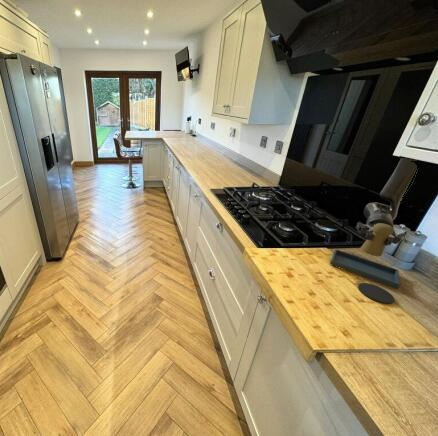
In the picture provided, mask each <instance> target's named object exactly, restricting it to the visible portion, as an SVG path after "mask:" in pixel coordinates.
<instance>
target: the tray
mask: <svg viewBox="0 0 438 436" xmlns="http://www.w3.org/2000/svg"><path fill="white" fill-rule="evenodd" d="M330 264H332V265H331V266H333V265H334V266H333V267H335V266H337V267H336V268H338V267H340V268H339V269H341V268H343V269H342V270H344V269H345V270H344V271H346V270H348V271H347V272H349V271H350V272H349V273H352V272H353V273H352V274H354V273H355V274H354V275H358V276H360V277H363V278H365V279H369V280H371V281H374V282H376V283H379V284H381V285H385V286H387V287H391V288H393V289H395V290H398V288H399V287H400V285H401V283H400V282H401V281H400V273H399V269H398V268H395V267H392V266H388V265H385V264H383V263H380V262H376V261H373V260H371V259H367V258H364V257H361V256H359V255H355V254H353V253H349V252H346V251H343V250H340V249H338V248H335V249H334V251H333V253H332V255H331V259H330V262H329V265H330Z"/></svg>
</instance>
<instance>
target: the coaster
mask: <svg viewBox="0 0 438 436" xmlns="http://www.w3.org/2000/svg"><path fill="white" fill-rule="evenodd" d="M357 289H358V291H359V292H360V293H361V294H362V295H363V296H365V297H366V298H368V299H370V300H372V301H374V302H376V303H379V304H383V305H392V304H393V303H394V302H395V297H394V296H393V295H392V294H391V293H390V292H389V291H387V290H386V289H385V288H382V287H380V286H378V285H376V284H374V283H370V282H360V283H359V284H358V285H357Z"/></svg>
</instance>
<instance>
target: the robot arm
mask: <svg viewBox="0 0 438 436" xmlns="http://www.w3.org/2000/svg"><path fill="white" fill-rule="evenodd" d="M411 161H417V160H412V159H407V158H400V160H399V162H398V164H397V165H396V167H395V169H394V171H393V173H392V174H391V175H390V176H389V179H388V180H387V181H386V183H385V185H384V187H383V188H382V189H381V191H380V193H379V197H380V198H382V199H384V200H385V201H388V202H389V203H390V204H389V205H387V204H384V203H380V202H376V201H375V202H374V201H372V202H369V203H367V204H366V205H365V207H364V208H363V216H364V217H365V218H366V222H365V224H364V223H363V222H361V221H358V222H357V223H356V226H355V229H356V230H357V232H358V233H359V234H360V235H365V239H366V240H371V238H372V236H373V227H374V226H375V225H376V224H378V223H383V224H387V225H390V226H392V227H393V228H394V220H395V219H396V218H397V215H398V211H399V207H400V204H401V202H402V200H403V198H402V197H404V196H405V195H404V193H405V192H406V190H407V188H408V186H409V184H410V182H411V180H412V178H413V176H414V174H415V172H416V170H417V165H416V164H415V163H414V162H411ZM417 171H418V170H417ZM416 173H417V172H416ZM407 191H408V190H407ZM406 193H407V192H406ZM406 193H405V194H406ZM403 195H404V196H403ZM400 201H401V202H400ZM405 236H406V234H405V233H402V232H401V233H396V231H395V230H394V232H393V234H392V235H390V236H389V237H388V238H387V240H386V242H385V247H386V246H387V247H388V246H391V245H392V244H394V245H397V244H399V243H400V242H403V240H404V239H405Z"/></svg>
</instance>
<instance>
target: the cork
mask: <svg viewBox="0 0 438 436" xmlns="http://www.w3.org/2000/svg"><path fill="white" fill-rule="evenodd" d="M394 231H395V229H394V226H393V227H392V226H390V225H387V224H383V223H378V224H376V225H375V226H374V227H373V236H372V238H371V240H367V239H366V240H365V241H364V242H363V244H362V245H361V246H360V250H361V251H362V252H363V253H365V254H367V255H370V256H374V257H382V256H383V253H384V250H385V247H386V245H385V242H386V240H387V238H388V237H389V236H390V235H392V234H393V232H394Z"/></svg>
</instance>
